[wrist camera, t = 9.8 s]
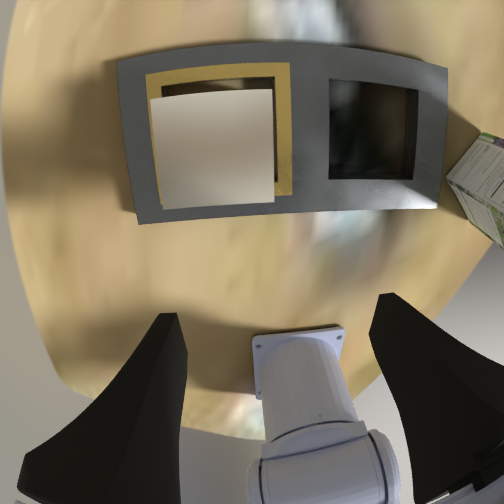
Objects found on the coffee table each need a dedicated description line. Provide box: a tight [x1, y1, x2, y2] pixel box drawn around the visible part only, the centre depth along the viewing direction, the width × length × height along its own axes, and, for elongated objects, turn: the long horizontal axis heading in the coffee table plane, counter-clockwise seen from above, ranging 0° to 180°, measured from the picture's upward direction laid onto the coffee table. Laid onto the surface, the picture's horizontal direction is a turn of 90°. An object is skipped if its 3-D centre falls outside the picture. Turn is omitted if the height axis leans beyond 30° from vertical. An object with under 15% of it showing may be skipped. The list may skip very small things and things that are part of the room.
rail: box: [117, 43, 448, 225], centre depth 16 cm, size 10×20×2 cm, turn 93°
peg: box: [150, 89, 274, 210], centre depth 13 cm, size 4×4×8 cm
